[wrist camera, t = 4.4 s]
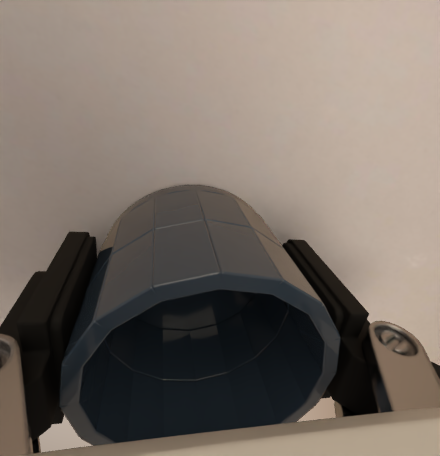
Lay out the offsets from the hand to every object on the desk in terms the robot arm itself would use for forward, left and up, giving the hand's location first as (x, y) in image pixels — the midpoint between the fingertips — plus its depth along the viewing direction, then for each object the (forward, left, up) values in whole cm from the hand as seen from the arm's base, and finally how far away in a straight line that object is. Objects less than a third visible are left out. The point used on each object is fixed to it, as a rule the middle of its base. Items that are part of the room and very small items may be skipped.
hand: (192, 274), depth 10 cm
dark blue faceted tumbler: (0, 0, -1) cm, 1 cm away
